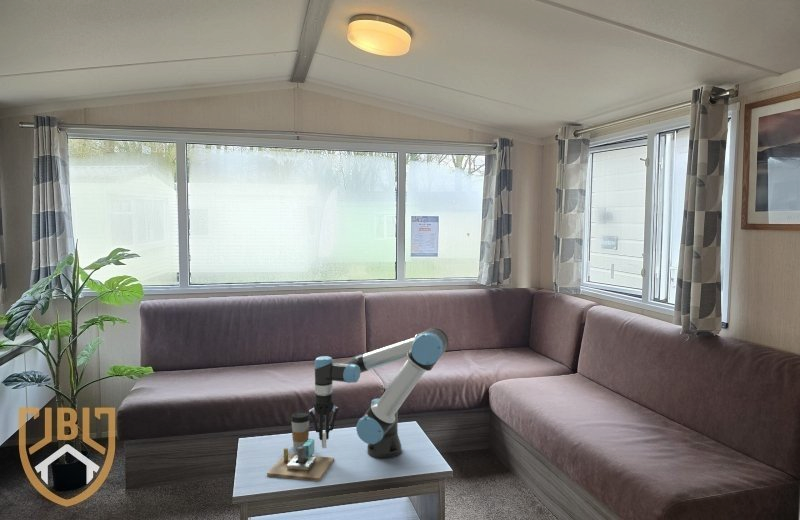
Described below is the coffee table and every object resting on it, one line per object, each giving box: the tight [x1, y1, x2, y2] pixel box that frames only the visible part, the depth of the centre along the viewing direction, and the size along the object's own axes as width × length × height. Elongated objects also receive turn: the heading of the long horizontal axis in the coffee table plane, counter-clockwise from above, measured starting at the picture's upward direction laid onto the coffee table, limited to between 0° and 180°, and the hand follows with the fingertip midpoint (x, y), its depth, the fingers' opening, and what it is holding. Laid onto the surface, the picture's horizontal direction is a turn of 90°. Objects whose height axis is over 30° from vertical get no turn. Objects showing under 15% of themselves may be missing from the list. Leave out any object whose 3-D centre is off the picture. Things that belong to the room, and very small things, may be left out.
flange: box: [287, 438, 316, 470], centre depth 211 cm, size 9×16×6 cm, turn 169°
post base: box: [266, 446, 335, 482], centre depth 208 cm, size 22×18×8 cm
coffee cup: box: [290, 411, 311, 451], centre depth 228 cm, size 8×8×15 cm
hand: (324, 446), depth 218 cm, fingers closed
